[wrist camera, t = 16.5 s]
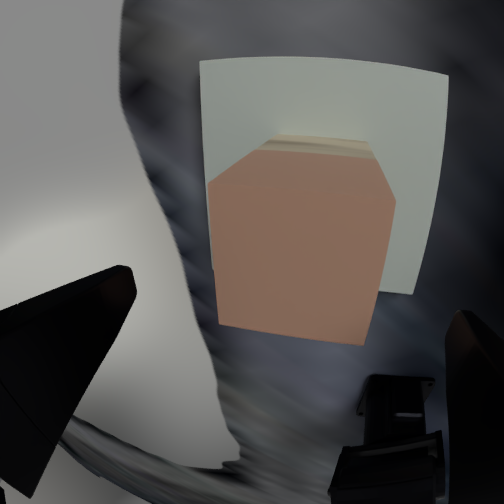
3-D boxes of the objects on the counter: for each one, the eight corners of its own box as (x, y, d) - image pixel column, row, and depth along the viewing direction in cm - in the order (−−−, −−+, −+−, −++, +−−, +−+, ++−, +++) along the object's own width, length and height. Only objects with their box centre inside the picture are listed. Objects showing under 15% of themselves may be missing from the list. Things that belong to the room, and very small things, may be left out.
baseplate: (409, 282, 21) (412, 294, 19) (219, 259, 24) (212, 269, 23) (440, 76, 14) (448, 75, 13) (209, 62, 17) (199, 61, 16)
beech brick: (358, 224, 18) (361, 268, 14) (276, 216, 19) (255, 255, 15) (367, 141, 16) (376, 160, 12) (277, 134, 17) (254, 149, 13)
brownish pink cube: (361, 268, 14) (363, 345, 10) (255, 255, 15) (219, 324, 11) (377, 159, 12) (396, 200, 7) (254, 149, 13) (207, 183, 9)
